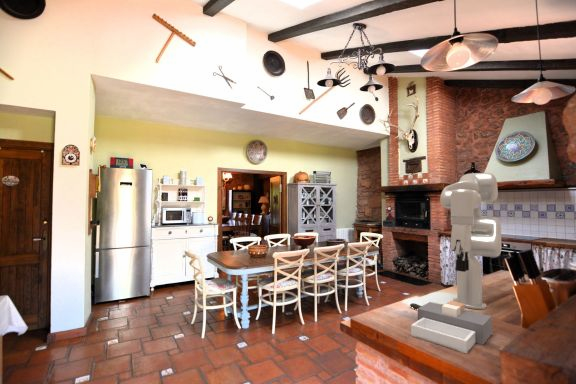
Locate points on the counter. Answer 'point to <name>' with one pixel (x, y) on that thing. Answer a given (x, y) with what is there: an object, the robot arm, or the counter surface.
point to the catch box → (444, 334)
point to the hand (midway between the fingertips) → (462, 269)
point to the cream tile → (451, 310)
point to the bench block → (460, 320)
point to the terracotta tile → (458, 305)
